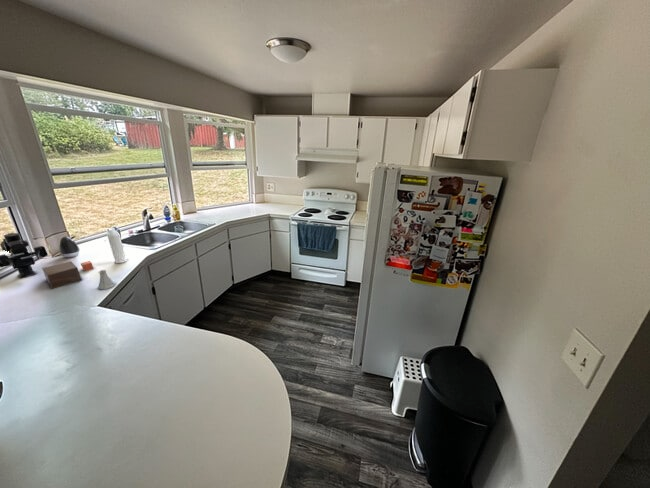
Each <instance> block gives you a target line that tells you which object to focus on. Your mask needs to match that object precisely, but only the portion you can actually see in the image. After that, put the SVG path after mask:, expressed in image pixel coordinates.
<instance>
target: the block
mask: <svg viewBox="0 0 650 488" xmlns="http://www.w3.org/2000/svg"><path fill="white" fill-rule="evenodd" d="M80 265H81V268H82V270H83V272H87V271H91V270H94V265H93V262H91V260H87V261H84V262H81V263H80Z"/></svg>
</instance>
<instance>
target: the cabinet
mask: <svg viewBox="0 0 650 488" xmlns="http://www.w3.org/2000/svg"><path fill="white" fill-rule="evenodd" d="M41 269H42V272H43V274H44V277H45V279H46V281H47V283H48V284H49V286H50V287H51V289H55V288H56V289H57V288H60V287H62V286H66V285H70V284H74V283H77V282H81V281H82V280H83V279H82V277H81V274H80V271H79V268H78V266H77V265H76V264H74V263H73V261H71V260H70V261H66V262H62V263H57V264H53V265H49V266H45V267H42V268H41Z"/></svg>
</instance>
